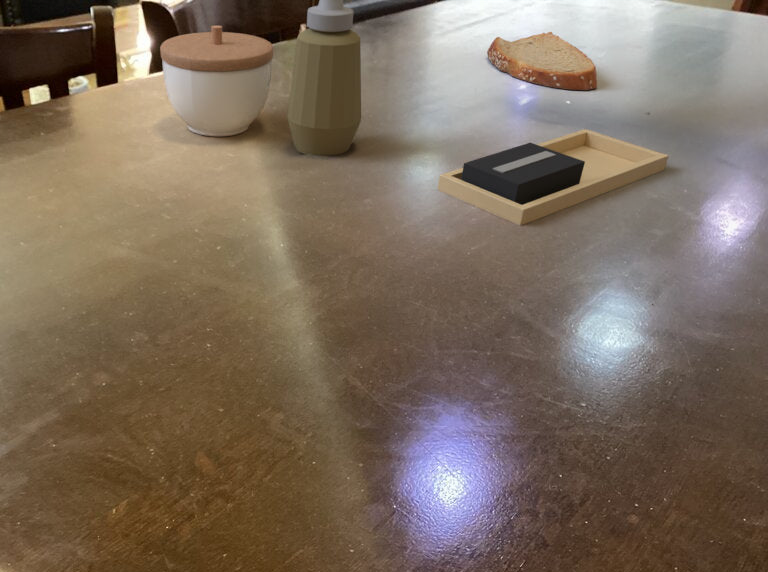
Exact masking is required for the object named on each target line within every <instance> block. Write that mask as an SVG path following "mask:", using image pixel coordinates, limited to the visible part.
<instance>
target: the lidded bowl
mask: <svg viewBox="0 0 768 572" xmlns="http://www.w3.org/2000/svg"><path fill="white" fill-rule="evenodd" d="M159 48H160V50H159V51H160V58H161V60H162V62H161V63H162V75H163V82H164V88H165V93H166V96H167V100H168V101H169V104H170V107H171V108H172V109H173V111H174V112H175V114H176V116H178V118H179V119H180V120H181V121H182V122H183V123H185V124H186V125H187V129H188V130H189V131H190V132H192V133H194V134H198V135H201V136H205V137H229V136H230V137H231V136H235V135H239V134H241V133H244V132H246V131H248V129H249V125H250V124H252V123H253V121H255V120H256V119H257V118H258V116H259V115H260V114H261V112H262V110H263V109H264V107H265V105H266V103H267V100H268V97H269V93H270V87H271V81H272V71H273V58H274V46H273V44H272V42H271V41H268V40H267V39H265V38H262V37H259V36H256V35H251V34H247V33H240V32H228V31H223V25H211V26H210V31H206V32H205V31H204V32H193V33H186V34H181V35H180V34H179V35H177V36H173V37H170V38H168V39H166V40H164V41H163V42H162V43H161V45H160V47H159Z"/></svg>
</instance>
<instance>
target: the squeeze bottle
mask: <svg viewBox="0 0 768 572" xmlns="http://www.w3.org/2000/svg"><path fill="white" fill-rule="evenodd" d="M306 15H307V16H306V26H307V28H306V29H304V30H303V31H301V32H300V33H299V34H298V35H297V38H296V45H295V53H294V61H293V69H292V75H291V82H290V83H291V84H290V92H289V98H288V104H287V105H288V107H287V113H286V114H287V115H286V118H287V122H288V125H289V126H288V127H289V129H290V133H291V137H292V140H293V144H294V148H295V149H296V150H297V151H298V152H299V153H301V154H303V155H313V156H324V157H326V156H338V155H340V154H344V153H347V151H349V150H350V148H351V145H352V143H353V141H354V138H355V135H356V133H357V132H358V129H359V126H360V124H361V123H362V69H361V68H362V67H361V66H362V64H361V63H362V62H361V61H362V59H361V56H362V55H361V54H362V53H361V37H360V36H359V34H357V32H356V31H354V30H352V28H353V25H354V23H353V22H354V9H352V8H350V7H348V6H344V0H319V1H318V4H317V5H314V6H311V7H308V8H307V12H306Z"/></svg>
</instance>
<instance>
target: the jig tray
mask: <svg viewBox="0 0 768 572" xmlns="http://www.w3.org/2000/svg"><path fill="white" fill-rule="evenodd" d="M535 144H536V143H535ZM536 145H539V146H542V147H545V148H547V149H550V150H553V151H556V152H559V153H562V154H565V155H568V156H570V157H573V158H576V159H579V160H582V161H585V164H584V168H583V171H582V175H581V179H580V183H579V184H578V185H575V186H572V187H569V188H567V189H564V190H561V191H559V192H556V193H553V194H551V195H548V196H545V197H542V198H540V199H537V200H534V201H532V202H529V203H526V204H523V205H521V204H518V203H516V202H513V201H511V200H509V199H506V198H504V197H501V196H499V195H496V194H494V193H492V192H489V191H487V190H484V189H482V188H479V187H477V186H475V185H472V184H470V183H467V182H465V181H462V180H461V178H462V172H463V167H460V168H457V169H454V170H451V171H448V172H445V173H442V174H439V179H438V185H437V191H438V192H441V193H444V194H446V195H448V196H451V197H452V198H455V199H457V200H460V201H462V202H465V204H466V203H467V204H469V205H470V206H471V205H472V206H473V207H476V208H477V209H481V210H483V211H485V212H488V213H489V214H491V215H494V216H497V217H499V218H501V219H503V220H506V221H508V222H511V223H512V224H515V225H517V226H523V225H526V224H529V223H532V222H534V221H536V220H539V219H541V218H544V217H546V216H549V215H552V214H554V213H557V212H560V211H562V210H564V209H567V208H570V207H573V206H575V205H578V204H581V203H583V202H586V201H588V200H590V199H593V198H596V197H598V196H601V195H603V194H606V193H608V192H611V191H614V190H616V189H619V188H621V187H624V186H626V185H630V184H631V183H632V184H633V183H634V182H637V181H640V180H642V179H645V178H647V177H651V176H653V175H654V174H658V173H660V172H662V171H664V170H665V169H666V166H667V162H668V159H669V156H670V155H669V154H665V153H662V152H659V151H656V150H653V149H649V148H647V147H644V146H640V145H637V144H635V143H634V144H633V143H631V142H629V141H628V142H627V141H624V140H621V139H618V138H615V137H612V136H610V135H609V136H608V135H606V134H603V133H599V132H596V131H593V130H590V129H587V128H584V129H580V130H577V131H574V132H572V133H568V134H565V135H562V136H559V137H555V138H552V139H550V140H546V141H542V142H540V143H537V144H536Z"/></svg>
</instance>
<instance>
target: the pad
mask: <svg viewBox="0 0 768 572" xmlns="http://www.w3.org/2000/svg"><path fill="white" fill-rule="evenodd" d="M584 164H585V161H582V160H579V159H576V158H573V157H570V156H568V155H565V154H562V153H559V152H556V151H553V150H550V149H547V148H545V147H542V146H539V145H536V143H533V142H527V143H525V144H524V143H523V144H521V145H518V146H515V147H512V148H507V149H505V150H502V151H501V150H500V151H499V152H495V153H492V154H488V155H485V156H482V157H479V158H476V159H473V160H470V161H466V162H463V167H462V168H463V172H462V178H461V180H462V181H465V182H467V183H470V184H472V185H475V186H477V187H479V188H482V189H484V190H487V191H489V192H492V193H494V194H496V195H499V196H501V197H504V198H506V199H509V200H511V201H513V202H516V203H518V204H521V205H523V204H526V203H529V202H532V201H534V200H537V199H540V198H542V197H545V196H548V195H551V194H553V193H556V192H559V191H561V190H564V189H567V188H569V187H572V186H575V185H578V184H579V183H580V179H581V175H582V171H583V168H584Z"/></svg>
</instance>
